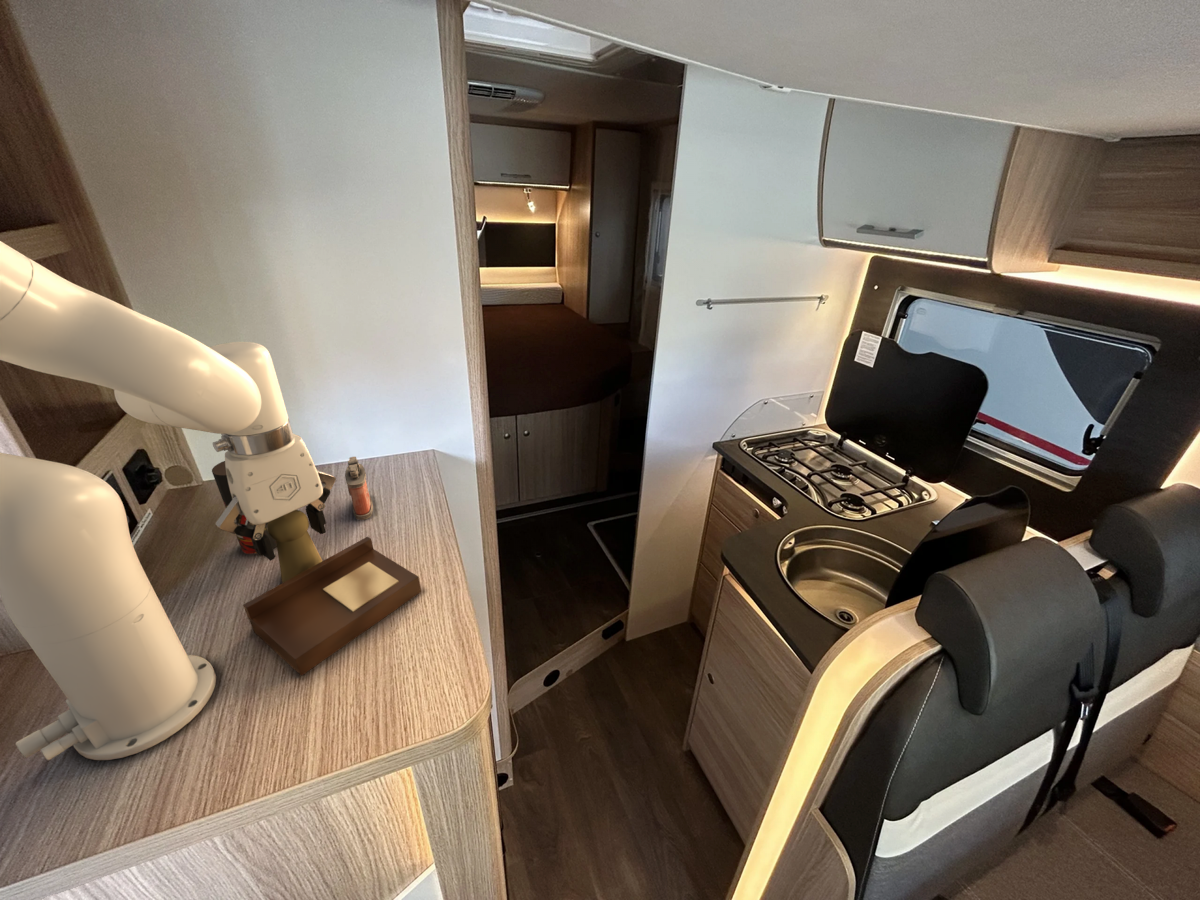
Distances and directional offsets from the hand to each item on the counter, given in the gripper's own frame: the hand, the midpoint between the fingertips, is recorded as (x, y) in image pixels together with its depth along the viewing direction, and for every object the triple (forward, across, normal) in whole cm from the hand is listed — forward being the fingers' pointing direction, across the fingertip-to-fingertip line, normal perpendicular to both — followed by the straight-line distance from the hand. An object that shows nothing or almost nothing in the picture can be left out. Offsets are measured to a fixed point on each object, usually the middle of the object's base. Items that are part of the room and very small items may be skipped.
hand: (294, 542), depth 75 cm
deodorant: (+6, 0, +13) cm, 14 cm away
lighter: (+6, +16, +9) cm, 19 cm away
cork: (+6, 0, 0) cm, 6 cm away
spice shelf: (+6, -1, -12) cm, 14 cm away
